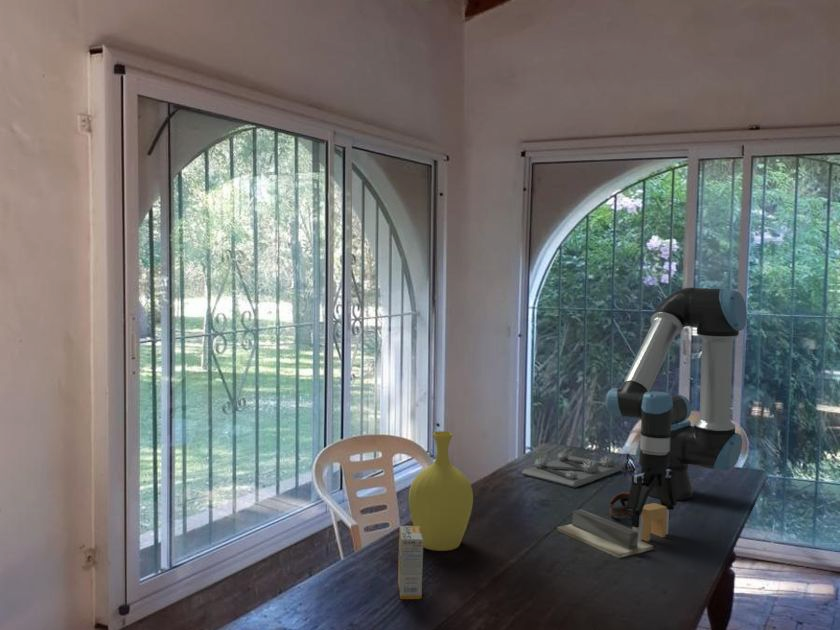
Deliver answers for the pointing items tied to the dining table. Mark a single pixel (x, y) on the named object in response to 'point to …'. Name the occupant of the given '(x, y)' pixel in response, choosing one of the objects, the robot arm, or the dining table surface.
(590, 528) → the rail block
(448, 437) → the vase
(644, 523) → the clip
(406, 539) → the supplement box
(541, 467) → the decorative plate
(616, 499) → the pottery mug
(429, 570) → the dining table surface
